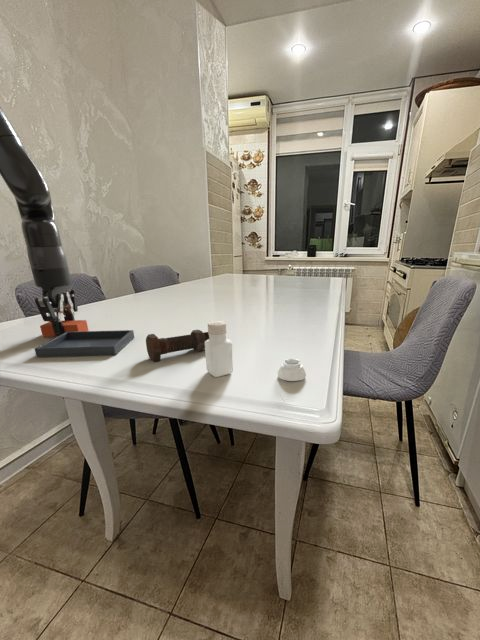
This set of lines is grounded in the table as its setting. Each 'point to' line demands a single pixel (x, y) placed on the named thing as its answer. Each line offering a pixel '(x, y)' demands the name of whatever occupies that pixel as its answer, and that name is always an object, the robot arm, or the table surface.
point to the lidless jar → (291, 370)
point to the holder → (85, 343)
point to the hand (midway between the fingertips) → (66, 332)
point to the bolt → (175, 344)
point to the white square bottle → (218, 350)
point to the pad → (68, 327)
